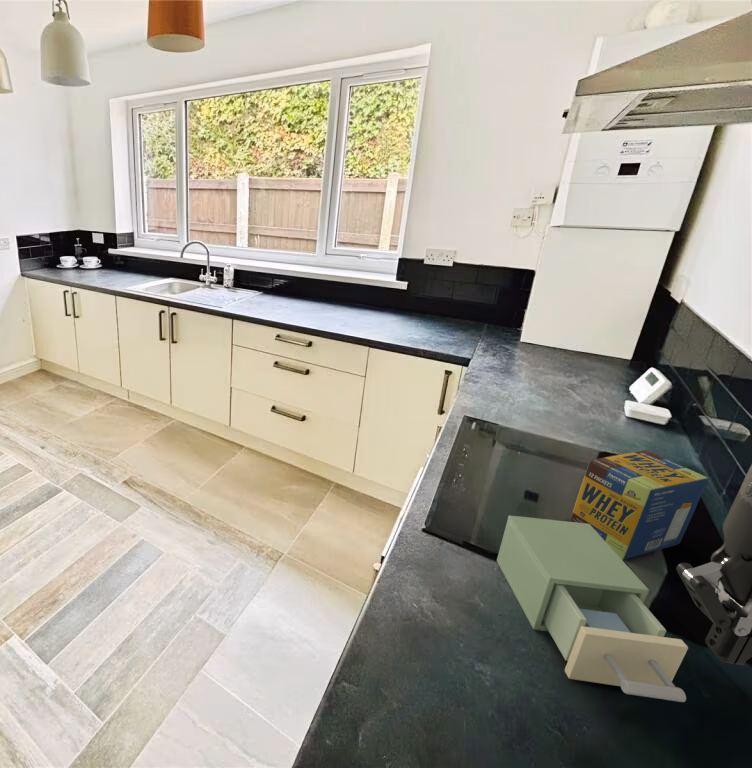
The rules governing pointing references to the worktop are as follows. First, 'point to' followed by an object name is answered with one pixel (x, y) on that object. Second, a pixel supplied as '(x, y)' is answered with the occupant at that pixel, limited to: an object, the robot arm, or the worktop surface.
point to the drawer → (614, 642)
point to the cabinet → (559, 563)
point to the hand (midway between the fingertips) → (724, 655)
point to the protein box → (638, 501)
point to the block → (604, 620)
